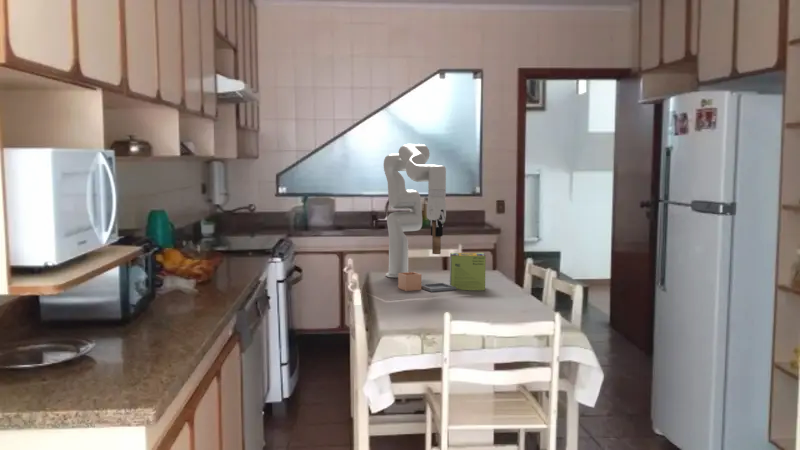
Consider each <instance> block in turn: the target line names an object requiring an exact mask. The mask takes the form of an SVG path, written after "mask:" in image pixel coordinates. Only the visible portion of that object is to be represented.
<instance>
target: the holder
mask: <svg viewBox="0 0 800 450" xmlns="http://www.w3.org/2000/svg"><path fill="white" fill-rule="evenodd" d="M397 283H398V285H397V286H398V287H397V288H398V289H400V290H402V291H405V292H408V291H409V292H410V291H422V289H421V284H422V273H418V272H415V271H410V272H409V271H408V272H405V273H398V278H397Z"/></svg>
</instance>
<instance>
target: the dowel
mask: <svg viewBox="0 0 800 450" xmlns="http://www.w3.org/2000/svg"><path fill="white" fill-rule="evenodd" d="M439 222H440V221H438V223H439ZM435 227H436V221H433V223H432V236H431V237H432V247H431V248H432V250H431V252H432V253H431V254H432V255H441V254H442V253H441V248H442V247H441V243H442V242H441V239H442V238H441V237H442V236H439V237H436V236H435Z"/></svg>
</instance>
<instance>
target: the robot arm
mask: <svg viewBox="0 0 800 450" xmlns="http://www.w3.org/2000/svg"><path fill="white" fill-rule="evenodd" d="M429 158H430V149H429V147H428V146H427V145H426V144H422V143H421V144H420V143H418V144H415V143H407V144H403V145H402V146H400V148H399V149H398V153H390V154H387V155H386V156H385V157H384V159H383V171H384V176H385V178H386V181H387V194H388V195H387V196H388V204H389V207H390V208H391V209H393V210H409V211H394V212H391V213H389V214H388V216H387V217H386V225H387V231H388V272H386V273H385V277H388V278H392V279H393V278H395V279H398V273H405V272H409V239H408V237H407V235H406V234H405V233H404V232H415V231H420V230H421V229H422V227H423V212H422V210H423V209H422V199H421V195H420V193H419V191H417V190H415V189H406V181H405V179H404V176H403V175H402V174H401V173H400V172H406V175H407V177H409V179H410V180H412V181H413V182H417V183H419V182H421V183H423V182H424V183H425V182H427V183H428V189H427V190H428V192H427V193H428V195H427V196H428V197H427V204H426V205H427V206H426V218H427V220H428V221H429V222H430V225H429V226H430V235H431V237H432V223H433V221H436V227H435V236H436V237H439V236H441V237H443V236H444V235H443V227H444V223H446V218H447V206H446V205H447V204H446V202H447V201H446V196H447V195H446V193H447V192H446V189H447V187H446V185H447V181H446V180H447V177H446V176H447V168H446V166H445V165H438V164H426V163H427V162H428V161H429ZM438 221H440V222H439V223H438Z"/></svg>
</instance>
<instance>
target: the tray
mask: <svg viewBox="0 0 800 450" xmlns="http://www.w3.org/2000/svg"><path fill="white" fill-rule="evenodd" d="M421 290H424V291H427V292H430V293H438V292H439V293H440V292H450V291H457V288H456V287H455V286H452V285H450V283H449V284H448V283H445V282H435V283H434V282H433V283H424V284H423V283H421Z"/></svg>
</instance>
